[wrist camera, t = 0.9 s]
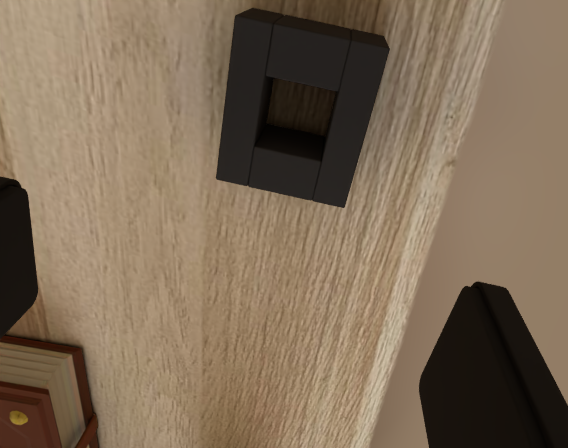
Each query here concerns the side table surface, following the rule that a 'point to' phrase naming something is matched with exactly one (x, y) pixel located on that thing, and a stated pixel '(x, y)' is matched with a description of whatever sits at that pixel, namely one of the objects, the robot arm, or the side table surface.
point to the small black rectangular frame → (306, 70)
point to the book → (44, 396)
